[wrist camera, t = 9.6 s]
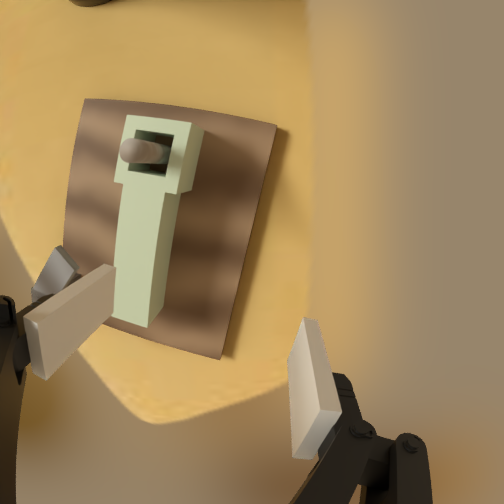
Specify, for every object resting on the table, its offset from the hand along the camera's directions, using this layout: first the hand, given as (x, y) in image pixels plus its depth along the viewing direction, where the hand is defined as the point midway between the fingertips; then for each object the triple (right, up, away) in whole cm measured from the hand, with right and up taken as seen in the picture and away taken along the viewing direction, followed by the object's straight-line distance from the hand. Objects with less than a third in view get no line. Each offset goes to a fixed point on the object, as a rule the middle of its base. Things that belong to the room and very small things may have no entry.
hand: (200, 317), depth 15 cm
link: (-7, +7, +15) cm, 18 cm away
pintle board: (-9, +6, +16) cm, 19 cm away
